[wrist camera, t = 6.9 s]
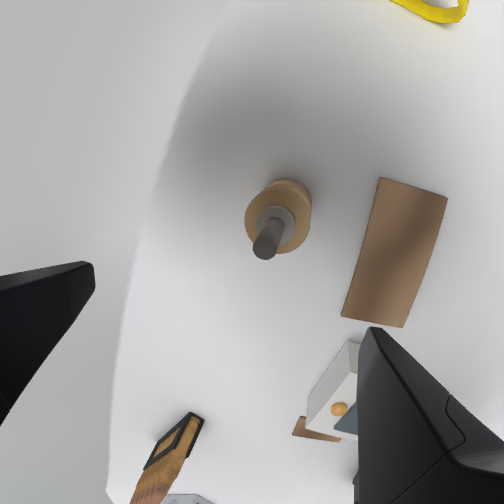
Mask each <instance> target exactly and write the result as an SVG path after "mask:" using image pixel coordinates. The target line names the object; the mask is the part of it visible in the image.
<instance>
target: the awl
mask: <svg viewBox="0 0 504 504" xmlns="http://www.w3.org/2000/svg"><path fill="white" fill-rule="evenodd" d="M310 215H311V198H310V195H309V193H308V191H307V189H306V188H305V187H304V186H303V185H302V184H301V183H299V182H298V181H296V180H293V179H288V178H284V179H278V180H276V181H274V182H272V183H271V184H269V185H268V186H267V187H266V188H265V189H264V190H263V191H262V192H261V193H260V194H259V195H257V196H256V197H255V198H254V199H253V200H252V201H251V203H250V204H249V206H248V208H247V210H246V214H245V228H246V231H247V234H248V236H249V238H250V239H251V240H252V242H253V243H254V244H253V251H254V254H255V255H256V256H257V257H258V258H260V259H263V260H268V259H271V258H272V257H274V256H275V254H282V253H287V252H290V251H292V250H294V249H296V248H297V247H299V246H300V245H301V244H302V243H303V242H304V240H305V239H306V237H307V235H308V232H309V228H310Z"/></svg>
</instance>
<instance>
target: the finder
mask: <svg viewBox="0 0 504 504" xmlns="http://www.w3.org/2000/svg"><path fill="white" fill-rule="evenodd" d="M360 346H361V344H358V343H355V342H353V341H350V340H347V341H346V342H345V344H344V345H343V347H342V348H341V350H340V351H339V353H338V354H337V356H336V357H335V359H334V360H333V362H332V363H331V365H330V366H329V368H328V369H327V371H326V372H325V373H324V375H323V376H322V378H321V379H320V380H319V382H318V383H317V385H316V386H315V387H314V389H313V390H312V392H311V393H310V394H309V396H308V404H307V415H306V425H305V429H309V430H312V431H316V432H319V433H323V434H327V435H331V436H335V437H339V438H343V439H347V440H352V441H356V442H358V424H357V405H356V390H357V371H358V352H359V349H360Z"/></svg>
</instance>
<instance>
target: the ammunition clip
mask: <svg viewBox="0 0 504 504" xmlns="http://www.w3.org/2000/svg"><path fill="white" fill-rule="evenodd" d="M203 423H204V420H203V419H201V418H199V417H197V416H196V415H194V414H192V413H190V412H189V413H188V414H187V415H186V416H185V417H184V418H183V419H182V420H181V421H180V422H179V423H178V424H176V425H175V426H174V427H173V428H172V429H171V430H170V431H169V432H168V433H167V434H166V435H164V436H163V437H162V438H161V439H160V440H159V441H158V442H157V444H156V446H155V447H154V449H153V451H152V453H151V455H150V457H149V459H148V461H147V463H146V465H145V467H144V468H143V470H144V472H143V474H142V476H141V478H140V479H139V481H138V483H137V486H136V490H135V492H134V494H133V497H132V499H131V501H130V504H160V503H161V502H162V501H163V499H164V498H165V496H166V494H167V493H168V490H169V488H170V487H171V485H172V483H173V482H174V480H175V479H176V478H177V476H178V474H179V472H180V470H181V467H182V465H183V463H184V461H185V459H186V458H188V457H189V455H190V453H191V451H192V449H193V446H194V444H195V442H196V440H197V437H198V435H199V433H200V430H201V428H202V426H203Z"/></svg>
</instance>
